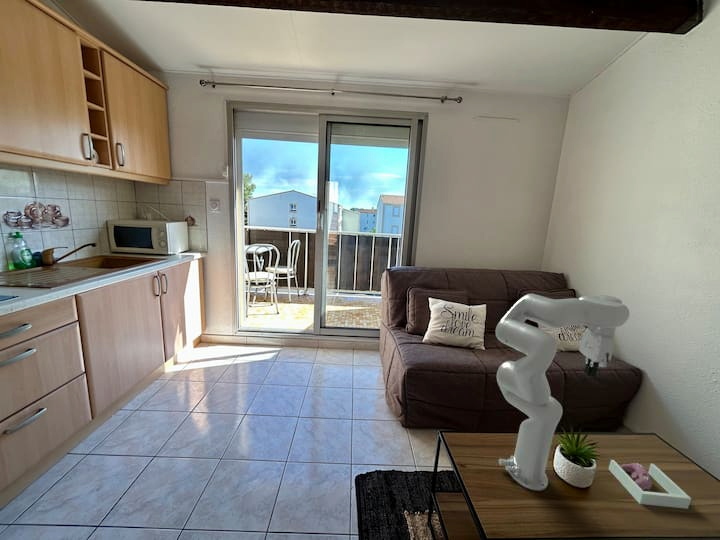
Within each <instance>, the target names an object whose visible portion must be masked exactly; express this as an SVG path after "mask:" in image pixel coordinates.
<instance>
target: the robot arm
mask: <svg viewBox="0 0 720 540" xmlns="http://www.w3.org/2000/svg"><path fill="white" fill-rule="evenodd" d="M622 301H623V300H622V299H620V298H618V297H616V296H612V295H606V294H604V295H603V294H598V295H596V296H595V295H584V296H580V297H579V298H575V297H572V298H571V297H570V298H562V299H559V298H557V299H554V298H549V297H548V296H547V297H546V296H542V295H539V294H535V293H527V294H525V295H523V296H522V297H521V298H520V299H519V300H517V301H516V302H515V303H514V304H513V306H511V308H509V310H508V311H507V312H506V313H505V314H504V316H503V317H502V318H501V319H500V321H499V322H498V323H497V325H496V327H495V337H496V338H497V340H498V341H500V343H502V344H504V345H506V346H508V347H511V348H512V349H515V350H516V351H519V352H521V353H522V354H524V355H526V356H523V357H521V358H519V359H517V360H516V361H512V360H506V361H504V362H503V363H502V364H500V365H499V367H498V368H497V369H498V370H497V372H496V381H497V384H498V387H499V390H500V391H501V393H502V395H503V397H504V399H505V400H506V401H507V402H508V403H509V404H511V405H512V406H513V407H515V408H517V410H519V411H521V412H522V413H524V414H525V415H527V416H528V418H526V419H524V420H523V421H521V422H520V423H521V424H519V425H520V426H519V428H518V429H519V430H518V435H517V441H516V443H515V444H516V445H515V450H514V455H510V458H507V459H505V458H498V464H499V466H505V471H507V472H508V473H509V475H510V477H512V479H513V480H514V481H516V482H517V483H518V484H519V485H521V486H523V487H524V488H526V489H528V490H531V491H539V492H541V491H543V490H545V489H547V487H548V485H549V478H548V476H547V474H546V468H547V465H548V464H547V463H548V460H549V455H550V451H551V447H552V441H553V438H554V436H555V435H554V434H555V431H556V429H557V426H558V424H559V423H560V420H561V419H562V416H563V413H564V412H563V406H562V405H561V403H560V402H559V401H558V400H557V399H556V398H555V397H553V396H552V395H551V393H552V392H551V387H550V385H549V381H548V379H547V376H546V372H547V370H548V369H549V366H551V364H552V361H553V360H554V359H555V357H556V354H557V351H558V341H557V340H556V338H555V337H554V336H553V335H551V333H549V332H547V331H545V330H544V329H542V328H539V327H536V326H533V325H531V324H528V323H526V320H529V321H532V322H534V323H537V324H539V325H542V326H546V327H548V328H553V329H561V328H567V327H572V326H581V327H586V329H585V331H584V332H583V334H582V337H581V339H580V343H579V347H578V351H579V352H580V353H581V354H582V355H583V356H584V358H585V362H584V363H585V367H584V372H583V373H584V374H585V375H586V376H587V377H596V376H597V372H598V368H607V364H609V363H610V361H611V359H612V355H613V351H614V345H615V344H614V341H615V340H614V339H615V338H614V336H615V333H616V328H619V327H621V326H623V325H624V324H625V323H627V321H628V320H629V319H630V310H629V308H628V307H627V306H626V305H625V304H623V302H622Z"/></svg>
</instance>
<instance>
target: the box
mask: <svg viewBox="0 0 720 540" xmlns="http://www.w3.org/2000/svg"><path fill="white" fill-rule="evenodd" d="M620 466H621V465H620V464H618V463H617V462H616V461H615V460H614V459H610V462H609V465H608V470H609V471H610V472H611V474H613V476H614V477H615V478H616V479H617V480H618V482H619V483H621V485H622V486H623V487H624V488H625V489H626V490H627V491H628V492H629V494H630V495H631V496H632V497H633V499H635V501H636V502H637V503H638V504H639V505H647V506H657V507H667V508H678V509H687V510H688V509H689V506H690V504H691V501H692V498H691V496H690V495H688V494H687V493H686V492H685V491H684V490H683V489H681V487H680V486H678V485H677V483H675V482H674V481H673V480H672V479H671V478H670V477H668V476H667V475H666V474H665V473H664V472H663V471H662V469H660V468H659V467H658V466H657V465H656V464H655V463H650V465H649V468H648V470H647V471H648V473H649V475H650V477H651V478H652V479H653V480H654V481H656V482H657V484H659V486H661V488H663V490H664V491H666V492H657V491H647V490H646V491H645V490H642V489H641V488H640V487H639V486H638V485H637V484H636V483H635V481H634V479H633V478H632V477H630V475H629V474H628V473H627V472H626V471H624V470H623V469H622V468H621V467H620Z"/></svg>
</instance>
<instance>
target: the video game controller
mask: <svg viewBox="0 0 720 540" xmlns="http://www.w3.org/2000/svg"><path fill="white" fill-rule="evenodd" d="M619 466H620V467H621V468H622V469H623V470H624V471H625V472H626V473H627V472H628V473H631V479H633V480H635V481H634V482H635V483H636V484H637V485H638V486H639V487H640V488H641V489H642V490H643V491H645V490H650V489H651V488H652V486H653V482H652V480H651V475H650V474H649V473H648V471H649V470H647V469H646V468H645V467H644V466H643V465H641V464H639V463H638V462H632V463H624V464H621V465H619Z"/></svg>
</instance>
